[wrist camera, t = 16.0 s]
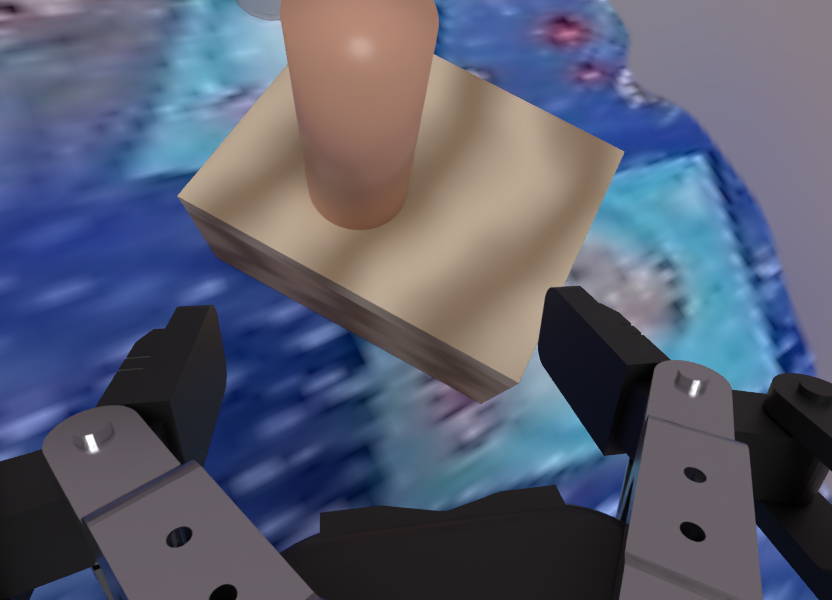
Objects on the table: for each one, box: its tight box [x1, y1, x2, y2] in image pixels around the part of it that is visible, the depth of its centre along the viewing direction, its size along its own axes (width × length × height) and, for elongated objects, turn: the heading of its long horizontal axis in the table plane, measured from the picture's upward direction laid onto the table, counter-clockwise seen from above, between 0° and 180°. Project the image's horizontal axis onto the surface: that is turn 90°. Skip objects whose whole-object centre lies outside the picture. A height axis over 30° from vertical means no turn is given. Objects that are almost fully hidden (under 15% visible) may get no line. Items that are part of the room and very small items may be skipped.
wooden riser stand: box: [178, 54, 624, 404], centre depth 32 cm, size 20×16×8 cm
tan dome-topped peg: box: [280, 0, 439, 230], centre depth 22 cm, size 5×5×11 cm
